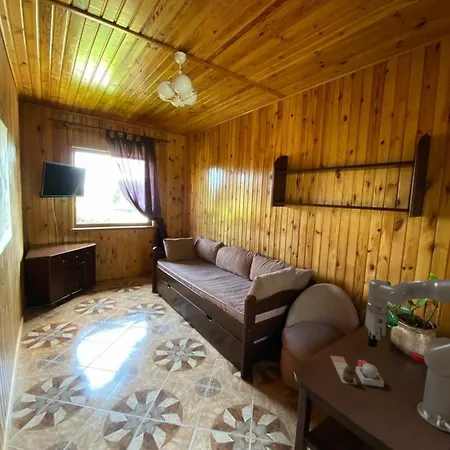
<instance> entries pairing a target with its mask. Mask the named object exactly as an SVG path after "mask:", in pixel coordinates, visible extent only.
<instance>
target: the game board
mask: <svg viewBox="0 0 450 450" xmlns="http://www.w3.org/2000/svg"><path fill="white" fill-rule="evenodd" d="M330 359H331V360H332V363H333V365H334V367H335V370H336V372H337V374H338V376H339V378H340V381H341V383H343V384H351V385H356V386H357V385H359V384H358V382H357V381H356V379H355V377H354V382H353V383H347V382H345V381H344V380H343V372H344V369H345V367H346V366H349V364H348V363H347V361H346V359H345V358H344V356H337V355H330Z"/></svg>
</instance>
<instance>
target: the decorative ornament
mask: <svg viewBox="0 0 450 450" xmlns="http://www.w3.org/2000/svg"><path fill="white" fill-rule="evenodd" d="M412 357H413V358H414V361H416V362H418V363H421V364H423V365H426V363H425V360H424V356H421V355H419V354H417V353H412ZM412 357H411V358H412ZM413 358H412V359H413Z"/></svg>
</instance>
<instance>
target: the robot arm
mask: <svg viewBox="0 0 450 450" xmlns="http://www.w3.org/2000/svg"><path fill="white" fill-rule="evenodd" d="M367 291H368V292H367V300H366V301H367V302H366V314H365V320H364V325H365V327H366V328H367V330H368V331H367V332H368V333H367V335H368V337H367V345H368V346H369V347H371V348H377V347H378V346H377V345H378V341H381V338H382V337H386V331H387V330H386V329H387V315H386V314H387V307H388V303H389V304H391V305H394V306H402V305H404V304H406V303H407V302H408V301H411V300H424V299H425V300H434V301H437V302H439V303H442V304H450V278H445V279H443V278H442V279H429V280H415V281H404V282H398V283H396V284H394V285H389V283H388V282H387V281H385V280H380V279H371V280H370V281H369V283H368V290H367ZM381 336H382V337H381ZM425 351H426V352H425V354H424V360H425V363H426V364H425V365H426V366H427V371H426V377H425V385H424V391H423V392H424V393H423V401H421V402H419V403H418V404H417V406H416V411H417V413H418V414H419V416H420V417H421V418H422V419H424V421H426V422H427V423H428V424H429V425H431V426H432V427H434V428H436V429H439V430H440V431H444V432H448V433H450V337H443V336H442V337H438V338H435V339H434V340H432V342H431V343H430V344H429V346H428V347H427V349H426V350H425Z"/></svg>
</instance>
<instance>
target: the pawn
mask: <svg viewBox="0 0 450 450" xmlns="http://www.w3.org/2000/svg"><path fill="white" fill-rule="evenodd" d="M342 376H343V380H344V381H345V382H347V383H346V384H349V383H353V382H354V378H355V372H354V369H353V367H352V366H350V365H348V366H346V367H345V369H344V372H343V375H342Z"/></svg>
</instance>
